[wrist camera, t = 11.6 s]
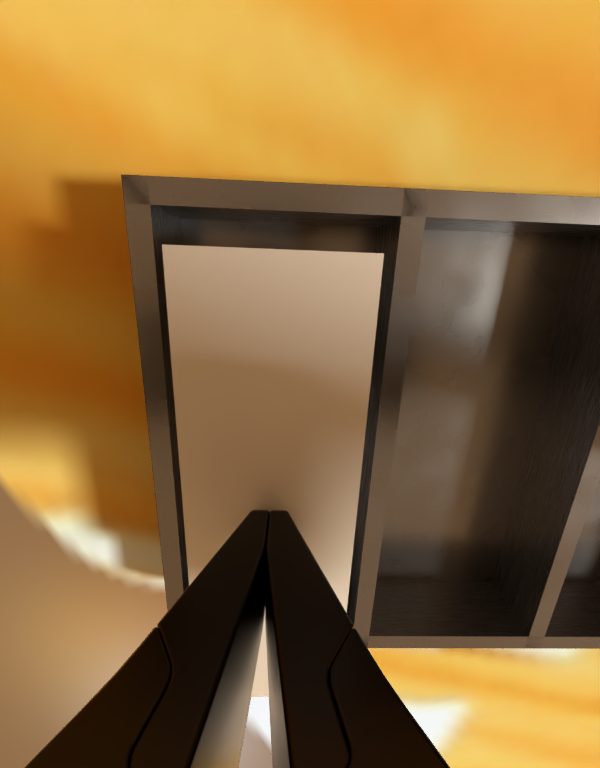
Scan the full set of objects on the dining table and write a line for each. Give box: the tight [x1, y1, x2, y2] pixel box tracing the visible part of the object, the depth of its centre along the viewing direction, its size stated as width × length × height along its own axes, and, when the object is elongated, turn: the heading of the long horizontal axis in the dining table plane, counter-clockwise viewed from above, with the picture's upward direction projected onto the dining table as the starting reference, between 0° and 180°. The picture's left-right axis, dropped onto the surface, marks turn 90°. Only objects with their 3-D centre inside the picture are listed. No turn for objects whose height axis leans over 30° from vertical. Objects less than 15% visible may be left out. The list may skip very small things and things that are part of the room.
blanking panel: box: [162, 244, 384, 697], centre depth 11 cm, size 4×12×5 cm, turn 178°
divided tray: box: [121, 175, 600, 648], centre depth 12 cm, size 20×16×3 cm
